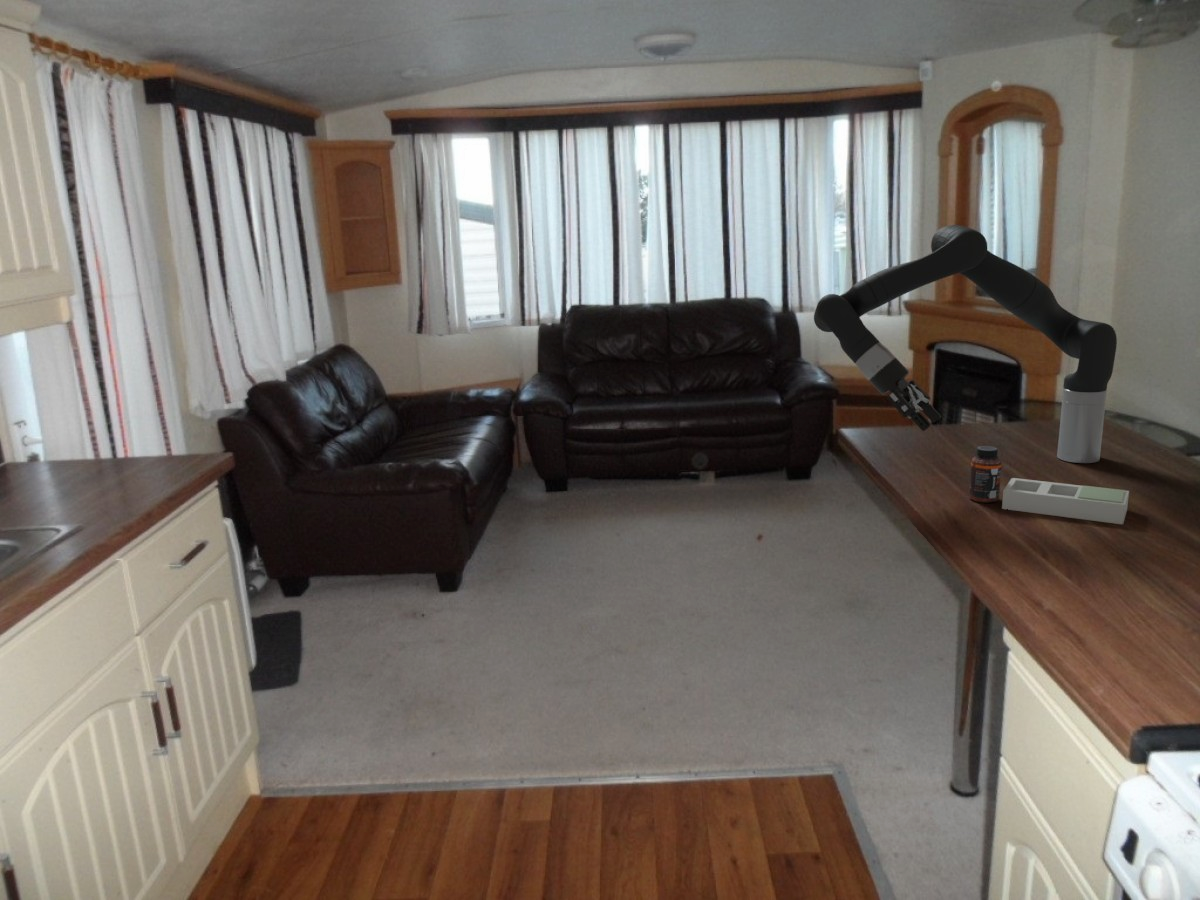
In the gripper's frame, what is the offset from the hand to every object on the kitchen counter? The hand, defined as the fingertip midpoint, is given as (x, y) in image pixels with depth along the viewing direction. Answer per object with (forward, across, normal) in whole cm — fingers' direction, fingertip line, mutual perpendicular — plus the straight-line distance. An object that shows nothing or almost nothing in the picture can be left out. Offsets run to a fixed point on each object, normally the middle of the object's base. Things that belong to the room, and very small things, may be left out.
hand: (932, 423), depth 203 cm
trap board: (+30, 0, -8) cm, 31 cm away
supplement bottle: (+19, 0, +3) cm, 19 cm away
